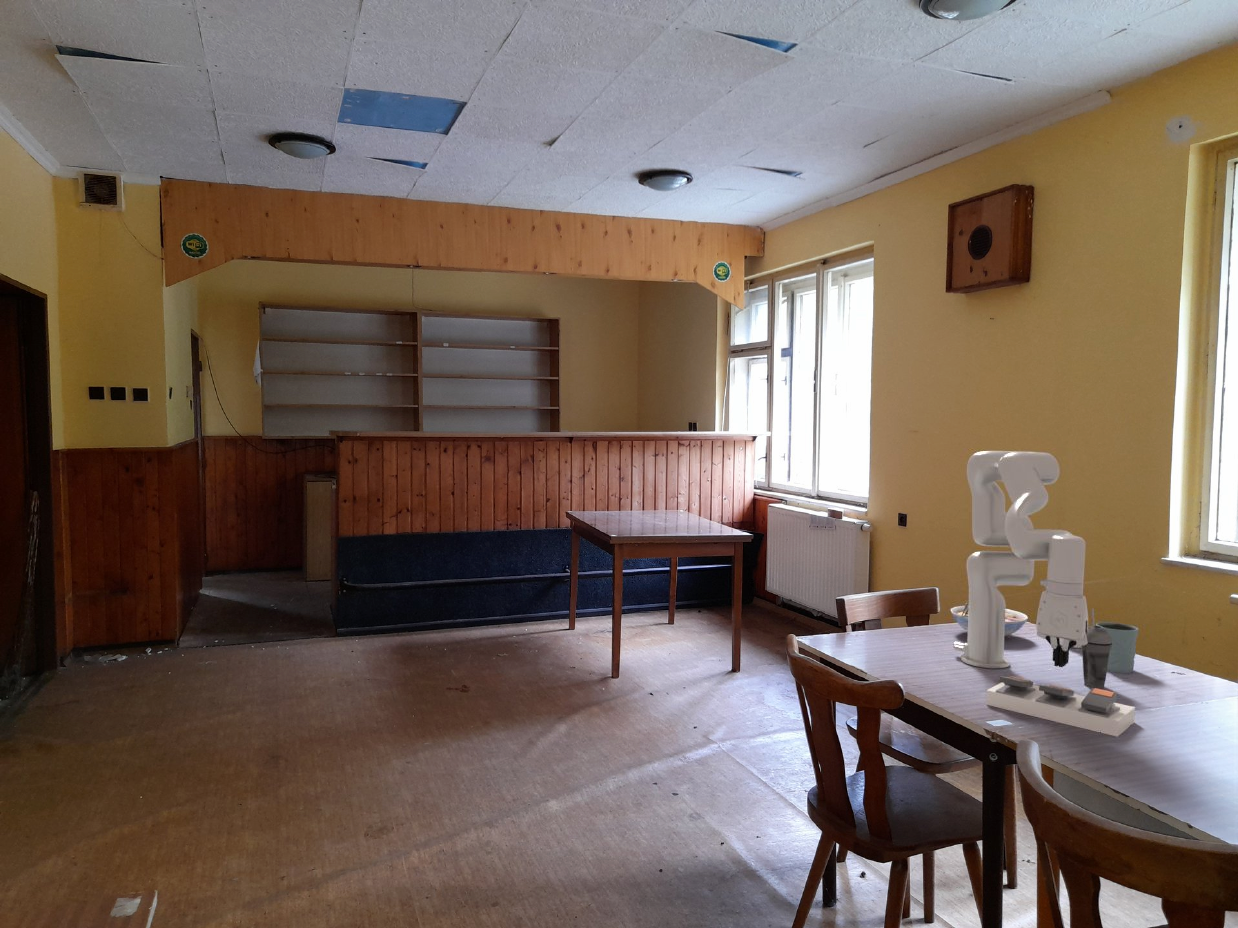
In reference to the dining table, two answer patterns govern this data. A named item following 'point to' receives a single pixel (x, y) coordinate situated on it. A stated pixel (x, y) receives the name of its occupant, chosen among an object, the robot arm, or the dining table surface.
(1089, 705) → the right rocker
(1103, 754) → the dining table surface
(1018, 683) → the left rocker
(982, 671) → the dining table surface
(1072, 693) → the middle rocker
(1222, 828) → the dining table surface
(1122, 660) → the teal plant pot
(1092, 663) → the beverage cup
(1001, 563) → the robot arm
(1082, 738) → the dining table surface
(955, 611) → the ramen bowl
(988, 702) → the rocker switch panel
